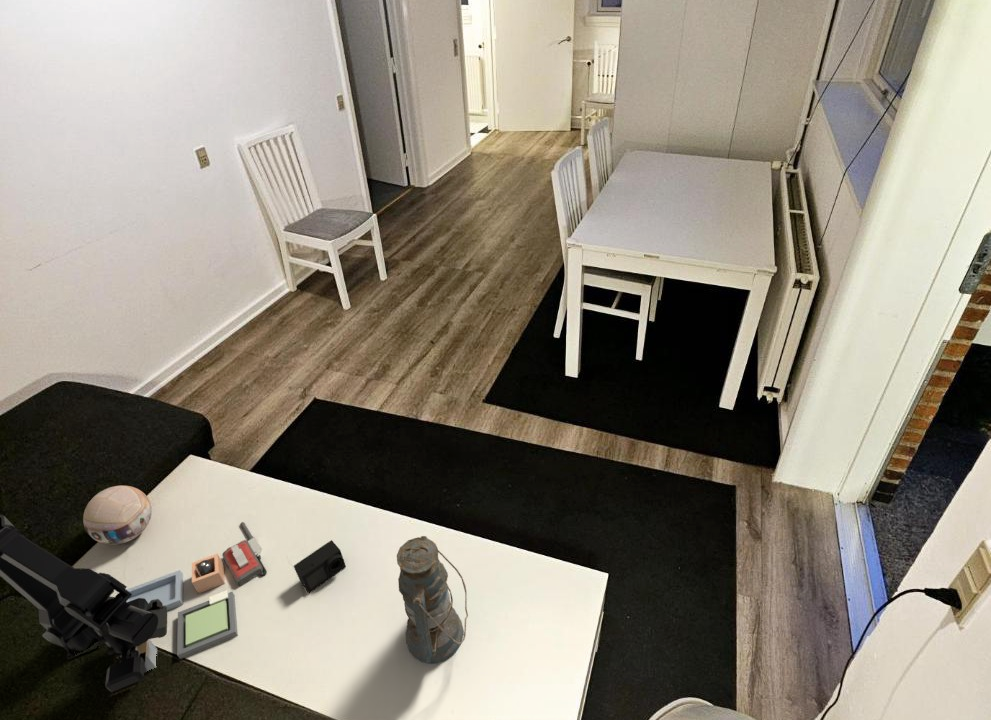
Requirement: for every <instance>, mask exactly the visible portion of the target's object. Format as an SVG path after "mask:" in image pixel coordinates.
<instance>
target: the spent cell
mask: <svg viewBox="0 0 991 720" xmlns="http://www.w3.org/2000/svg"><path fill="white" fill-rule="evenodd" d="M197 568H198V570H199V572H200V574H201V575H202V576H204V575H207V574H209V573H212V572H215V571H214V569H213V567H212V565H211V564H210V562H209V561H208V560H203V561H201V562H200V563H199V564H198V566H197Z"/></svg>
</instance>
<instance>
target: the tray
mask: <svg viewBox="0 0 991 720" xmlns="http://www.w3.org/2000/svg"><path fill="white" fill-rule="evenodd" d="M126 590H127V591H129V592H130V593H131V594H132V596H131V597H130V598H129V599H128V600H127V601H126V602H129V601H132V600H134V599H137V598H144V599H146V601H147V602H148V604H149V602H150V601H151V600H155V599H159V600H160V601H161V602H162V603H163V606H166V607H167V612H168V611H170V610H173V609H176V608H178V607H180V606H183V605H184V574H183V571H182V570H181V569H178V570H176V571H174V572H171V573H168V574H166V575H163V576H160V577H158V578H154V579H152V580H149V581H147V582H143V583H140V584H138V585H135V586H133V587H129V588H127V589H126Z"/></svg>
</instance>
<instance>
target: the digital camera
mask: <svg viewBox="0 0 991 720" xmlns="http://www.w3.org/2000/svg"><path fill="white" fill-rule="evenodd" d="M346 567H347V565H346V563H345V559H344V557H343V554H342V552H341V549H340V548H339V546H338V545H336V543H335V541H333V540H332V539H331V540H330V541H328V542H326V543H325V544H323V545H322V546H320V547H319V548H318V549H316V550H315V551H313V552H311V553H310V554H309V555H307V556H305V557H304V558H303V559H302V560H300V561H298V562H297V563H296V564H294V565H293V568H294V571H295V572H296V575H297V577H298V580H299V582H300V584H301V585H302V586H303V587H304V589H305V590H306V591H307V593H308V594H311V593H312V592H314V591H315V590H316V589H318V588H319V587H321V586H322V585H323V584H325V583H326V582H327V581H329V580H330V579H332V578H333V577H335V575H337V574H338V573H340V572H341V571H343V570H344V569H345V568H346Z"/></svg>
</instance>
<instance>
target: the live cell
mask: <svg viewBox="0 0 991 720" xmlns="http://www.w3.org/2000/svg"><path fill="white" fill-rule="evenodd" d="M136 650H137V651H139V654H141V653H144V652H146V658H145V664H144V665H145V667H146V672H145V673H147V671H148V672H150V671H151V669H152V670H155V669H157V666H156V656H157V657H158V648H157V647H156V646H155V644H154V643H153V642H152V640H151V639H149V640H148V641H146V642H145V643H143V644H141V645H139V646H136ZM156 654H157V655H156ZM154 668H155V669H154ZM149 670H150V671H149Z"/></svg>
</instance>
